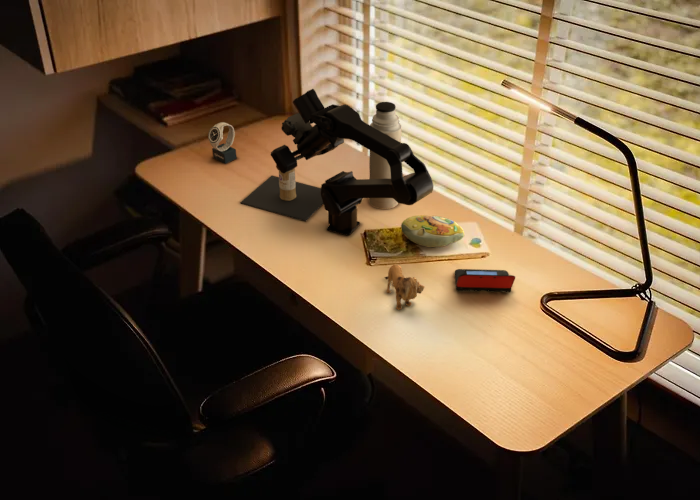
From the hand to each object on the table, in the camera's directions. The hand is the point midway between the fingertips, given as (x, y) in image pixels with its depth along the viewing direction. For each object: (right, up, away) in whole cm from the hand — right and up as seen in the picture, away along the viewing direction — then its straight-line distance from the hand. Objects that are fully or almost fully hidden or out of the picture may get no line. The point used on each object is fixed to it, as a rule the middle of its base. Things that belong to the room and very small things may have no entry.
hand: (290, 161), depth 206 cm
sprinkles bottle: (-1, -9, +8) cm, 12 cm away
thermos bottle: (+25, -10, +6) cm, 27 cm away
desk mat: (-1, -9, +8) cm, 12 cm away
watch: (-21, +4, +26) cm, 34 cm away
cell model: (+36, -20, -8) cm, 42 cm away
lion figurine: (+27, -34, -28) cm, 51 cm away
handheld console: (+46, -32, -24) cm, 61 cm away
